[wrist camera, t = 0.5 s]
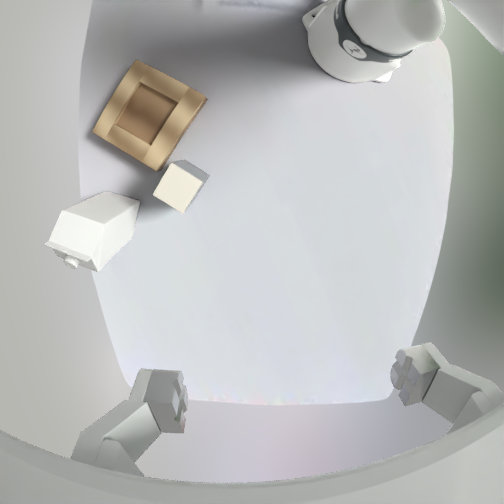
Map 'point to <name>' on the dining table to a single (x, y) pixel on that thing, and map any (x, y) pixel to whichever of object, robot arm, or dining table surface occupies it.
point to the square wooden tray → (148, 114)
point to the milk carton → (94, 230)
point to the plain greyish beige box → (180, 185)
